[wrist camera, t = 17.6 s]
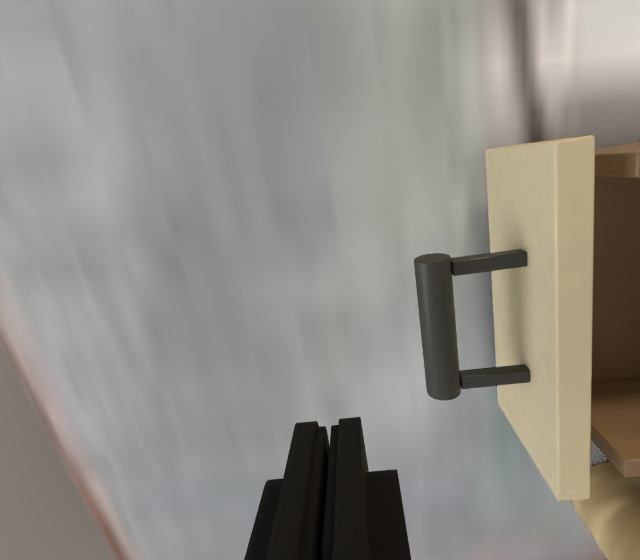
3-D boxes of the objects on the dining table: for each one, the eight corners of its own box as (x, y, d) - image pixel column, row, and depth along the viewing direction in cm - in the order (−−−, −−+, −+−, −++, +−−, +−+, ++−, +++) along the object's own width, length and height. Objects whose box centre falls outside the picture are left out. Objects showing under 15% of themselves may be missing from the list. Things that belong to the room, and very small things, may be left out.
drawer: (419, 411, 23) (446, 510, 16) (393, 164, 19) (414, 163, 13) (771, 378, 21) (962, 475, 14) (810, 97, 18) (1084, 56, 11)
